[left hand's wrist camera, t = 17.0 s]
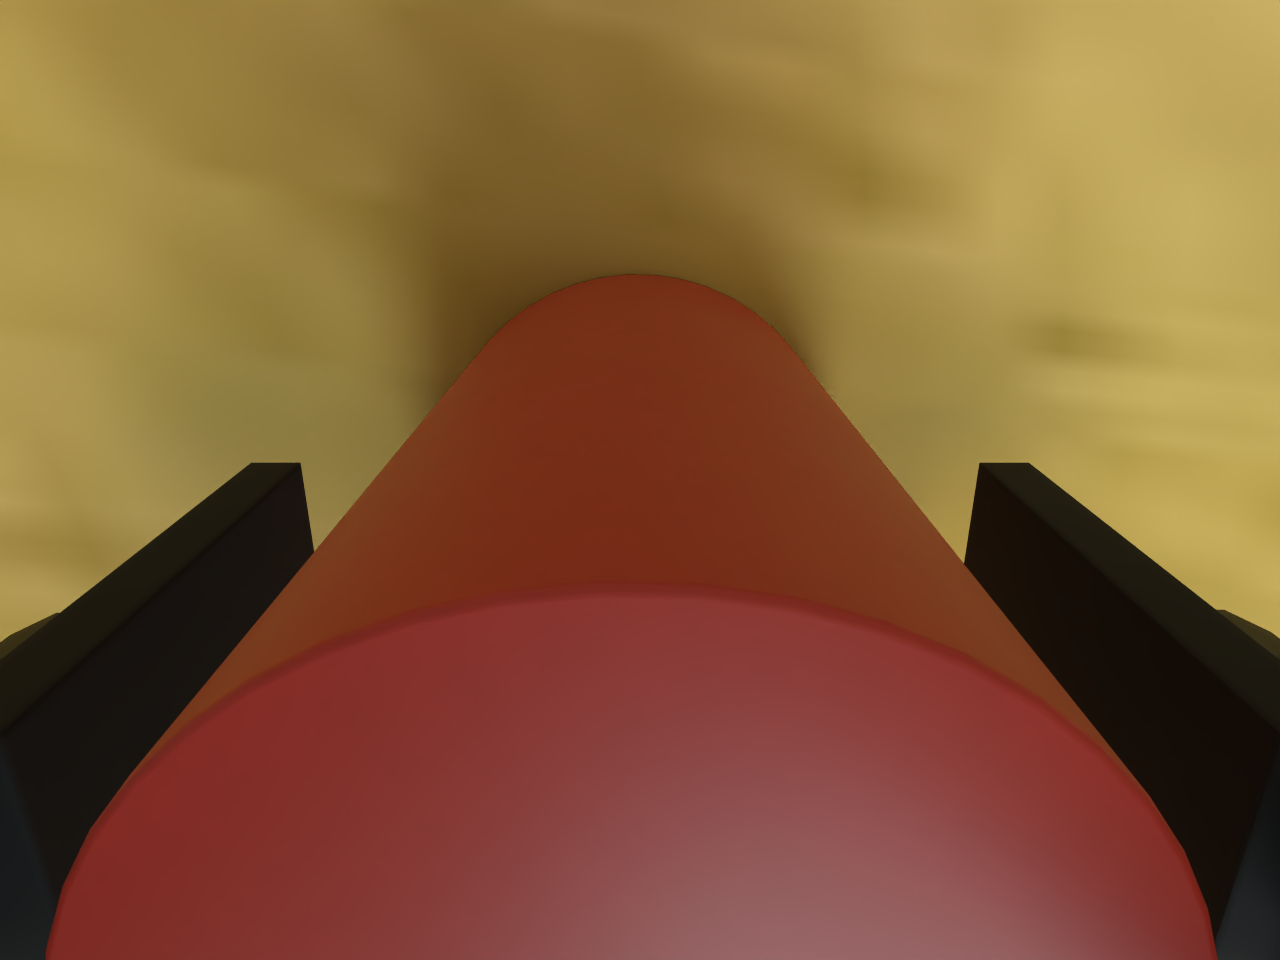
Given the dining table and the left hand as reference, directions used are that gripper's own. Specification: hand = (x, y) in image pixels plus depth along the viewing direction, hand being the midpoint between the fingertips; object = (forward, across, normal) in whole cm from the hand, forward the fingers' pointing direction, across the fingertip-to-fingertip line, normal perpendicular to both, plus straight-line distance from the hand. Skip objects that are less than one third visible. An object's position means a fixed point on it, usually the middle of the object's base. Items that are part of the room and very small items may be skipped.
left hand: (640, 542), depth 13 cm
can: (+3, 0, 0) cm, 3 cm away
